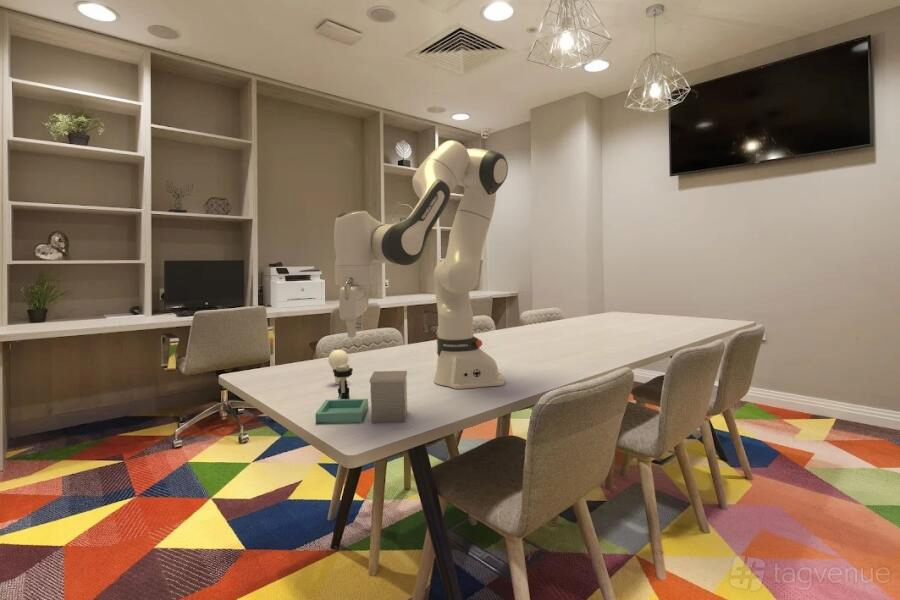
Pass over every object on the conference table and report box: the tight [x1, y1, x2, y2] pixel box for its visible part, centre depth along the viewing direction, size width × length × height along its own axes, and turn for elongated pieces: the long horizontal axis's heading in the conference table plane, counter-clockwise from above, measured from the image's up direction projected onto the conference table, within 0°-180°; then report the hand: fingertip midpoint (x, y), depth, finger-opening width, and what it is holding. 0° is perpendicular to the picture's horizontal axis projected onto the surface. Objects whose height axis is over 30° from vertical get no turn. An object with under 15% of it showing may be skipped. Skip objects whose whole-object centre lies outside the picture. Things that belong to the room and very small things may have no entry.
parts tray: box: [314, 398, 369, 425], centre depth 118 cm, size 11×11×2 cm
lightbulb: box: [328, 349, 350, 385], centre depth 147 cm, size 6×6×11 cm
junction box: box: [369, 370, 408, 424], centre depth 116 cm, size 9×8×11 cm
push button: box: [332, 364, 353, 400], centre depth 129 cm, size 7×5×10 cm
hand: (355, 333), depth 115 cm, fingers open, 8 cm apart
